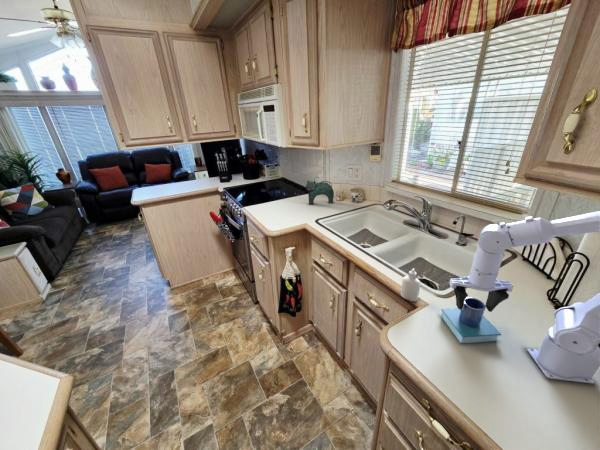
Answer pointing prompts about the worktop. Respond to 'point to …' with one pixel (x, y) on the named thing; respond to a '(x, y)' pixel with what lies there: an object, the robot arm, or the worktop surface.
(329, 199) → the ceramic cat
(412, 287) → the eye dropper bottle
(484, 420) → the worktop surface
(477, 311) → the cup
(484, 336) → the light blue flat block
